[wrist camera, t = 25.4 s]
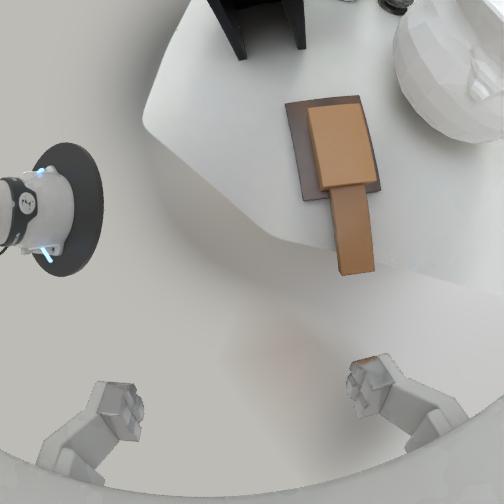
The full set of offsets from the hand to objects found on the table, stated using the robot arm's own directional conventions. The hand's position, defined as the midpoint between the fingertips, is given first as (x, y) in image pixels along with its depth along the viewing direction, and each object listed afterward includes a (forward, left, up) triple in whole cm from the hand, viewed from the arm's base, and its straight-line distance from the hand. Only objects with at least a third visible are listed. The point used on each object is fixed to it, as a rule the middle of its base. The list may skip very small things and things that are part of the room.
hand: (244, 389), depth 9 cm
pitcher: (+26, +21, -28) cm, 43 cm away
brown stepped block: (+8, +8, -26) cm, 28 cm away
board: (+8, +14, -27) cm, 32 cm away
